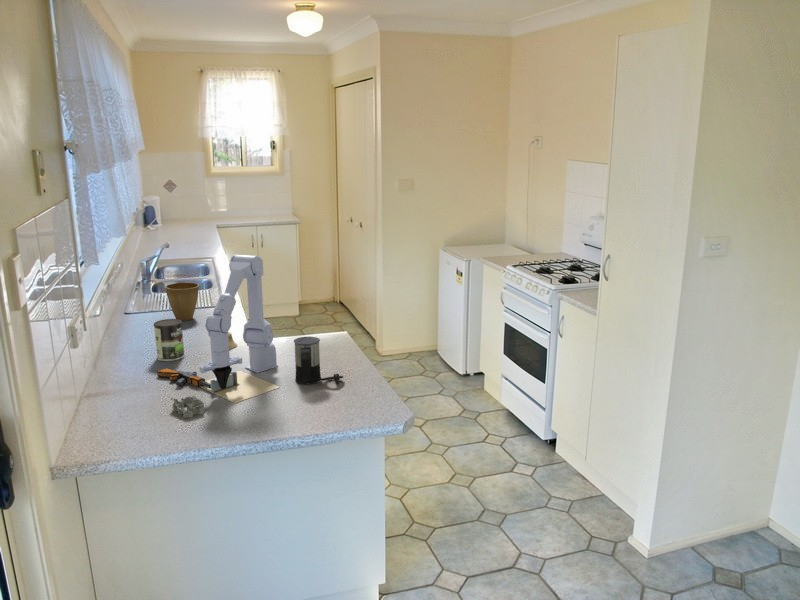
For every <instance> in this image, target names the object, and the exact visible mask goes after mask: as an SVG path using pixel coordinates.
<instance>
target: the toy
mask: <svg viewBox="0 0 800 600" xmlns="http://www.w3.org/2000/svg"><path fill="white" fill-rule="evenodd" d="M197 373H198V372H197V371H193V372H190V371H184V370H179V371H178V370H176V369H172V368H168V367H167V368H166V367H165V368H163V369H159V370H157V371H156V375H157V377H161V378H169V381H170V382H174V381H176V382H175V385H176V386H183V385H184V384H187V385H190V386H194V387H197V388H202V387H201V386H205V387H207V388H211V384H209V383H207V382H206V381H207V380H206V378H204V377H201V376H199V375H198V374H197Z"/></svg>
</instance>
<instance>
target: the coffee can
mask: <svg viewBox="0 0 800 600" xmlns="http://www.w3.org/2000/svg"><path fill="white" fill-rule="evenodd" d="M182 323H183V321H181V320H178V319H176V318H168V319H166V318H164V319H161V320H157V321H154V323H153V328H154V337H155V338H154V339H155V346H156V347H155V348H156V359H157V360H158V361H161V362H174V361H178V360H181V359H184V357H185V348H184V347H185V346H184V335H183V324H182Z"/></svg>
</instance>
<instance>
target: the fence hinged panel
mask: <svg viewBox="0 0 800 600" xmlns="http://www.w3.org/2000/svg"><path fill="white" fill-rule="evenodd" d="M215 378H216V377H215ZM233 380H234V385H237V372H236V371H233V376H232V374H230V375H229V377H228V381H227V386H226V388H227V387H230V386H233ZM210 384H211V391H212V392H214V391H217V390H220V389H221V388H220V386H219V383H218V380H217V378H216V380H215V379H213V378H211V381H210ZM212 392H211V393H212Z"/></svg>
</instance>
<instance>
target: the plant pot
mask: <svg viewBox="0 0 800 600" xmlns="http://www.w3.org/2000/svg"><path fill="white" fill-rule="evenodd" d="M164 286H165V293H166V296H167V299H168V303H169V305H170V309H171V311H172V314H173V316H174V317H175V318H174V319H178V320H181V321H182V322H183V321H190V320H192V319H193V317H194V314H195V312H196V308H197V303H198V296H199V289H200V288H199V287H200V285H199V283H197V282H190V281H189V282H188V281H187V282H184V281H182V282H174V283H173V282H172V283H169V284H166V285H164Z"/></svg>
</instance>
